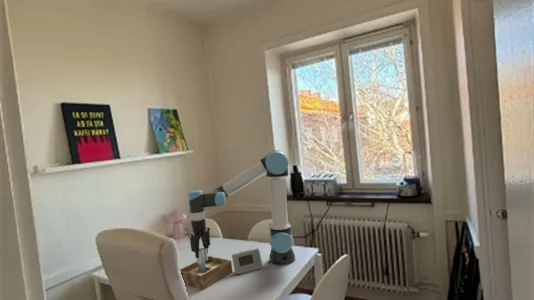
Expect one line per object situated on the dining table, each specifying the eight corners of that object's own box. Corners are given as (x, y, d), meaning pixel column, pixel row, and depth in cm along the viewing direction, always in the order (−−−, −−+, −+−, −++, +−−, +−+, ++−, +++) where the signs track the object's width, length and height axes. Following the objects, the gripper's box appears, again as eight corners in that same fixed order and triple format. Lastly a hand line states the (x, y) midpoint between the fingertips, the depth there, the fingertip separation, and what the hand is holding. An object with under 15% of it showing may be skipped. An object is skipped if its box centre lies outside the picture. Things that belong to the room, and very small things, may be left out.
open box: (232, 272, 178) (231, 260, 178) (202, 290, 160) (200, 276, 160) (209, 267, 189) (208, 255, 188) (179, 283, 171) (177, 270, 171)
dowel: (207, 273, 176) (205, 248, 176) (202, 276, 173) (200, 251, 172) (202, 272, 179) (200, 247, 178) (197, 275, 176) (195, 250, 175)
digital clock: (234, 276, 174) (232, 256, 173) (233, 269, 183) (231, 251, 182) (263, 270, 177) (261, 251, 176) (261, 264, 185) (259, 246, 185)
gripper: (205, 214, 183) (209, 255, 184) (180, 222, 170) (185, 266, 171) (214, 215, 179) (218, 257, 180) (190, 224, 165) (195, 268, 166)
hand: (202, 261), depth 175 cm, fingers closed on dowel, 4 cm apart
